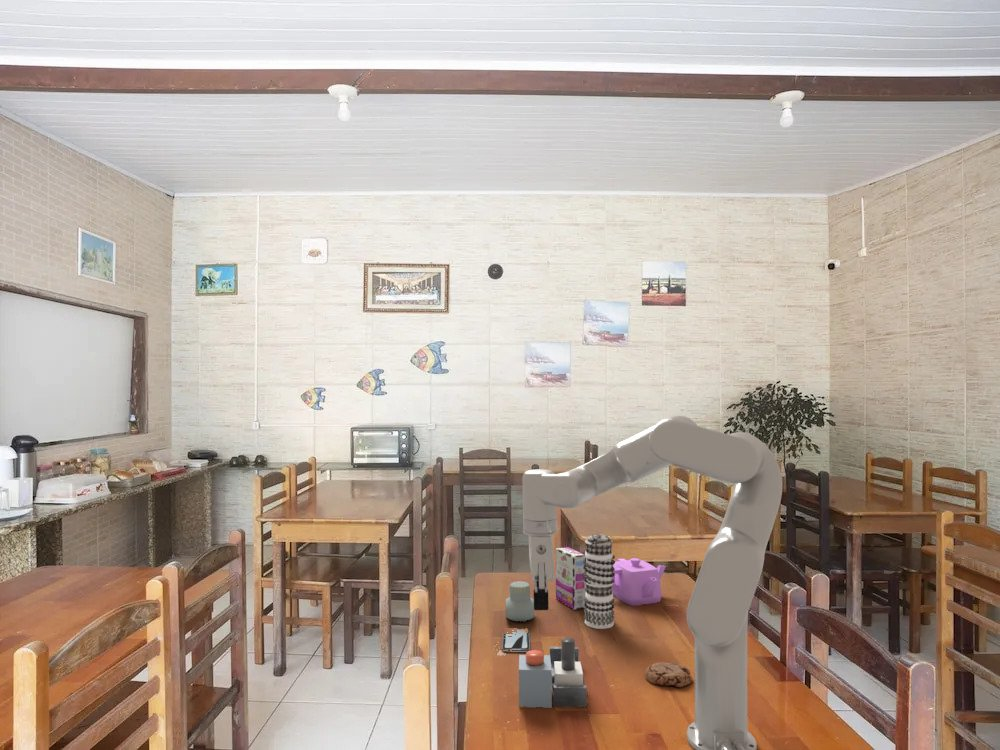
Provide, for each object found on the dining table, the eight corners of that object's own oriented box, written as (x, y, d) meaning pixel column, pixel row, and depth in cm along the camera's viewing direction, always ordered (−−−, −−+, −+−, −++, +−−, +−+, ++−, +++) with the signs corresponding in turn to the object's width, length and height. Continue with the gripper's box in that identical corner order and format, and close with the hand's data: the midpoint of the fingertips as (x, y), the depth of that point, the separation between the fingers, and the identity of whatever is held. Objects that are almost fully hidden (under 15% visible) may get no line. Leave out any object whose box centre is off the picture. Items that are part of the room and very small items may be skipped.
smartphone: (529, 627, 169) (530, 650, 154) (529, 630, 169) (530, 653, 154) (503, 627, 169) (501, 649, 154) (503, 630, 169) (501, 653, 154)
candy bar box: (587, 608, 184) (587, 554, 184) (573, 611, 182) (573, 556, 182) (568, 596, 194) (568, 545, 194) (555, 599, 192) (554, 547, 192)
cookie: (637, 673, 143) (637, 661, 143) (674, 666, 147) (674, 654, 147) (661, 694, 134) (661, 680, 134) (700, 685, 137) (700, 672, 137)
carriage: (585, 695, 130) (585, 646, 130) (552, 694, 131) (552, 646, 131) (583, 681, 136) (582, 635, 136) (551, 681, 137) (551, 634, 137)
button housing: (551, 707, 128) (551, 670, 128) (519, 707, 128) (518, 669, 128) (550, 690, 135) (550, 655, 135) (519, 690, 135) (519, 654, 135)
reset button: (544, 684, 129) (544, 658, 129) (525, 683, 129) (525, 658, 130) (543, 674, 133) (543, 650, 133) (525, 674, 133) (525, 649, 134)
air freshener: (534, 625, 171) (534, 590, 171) (505, 625, 171) (505, 590, 171) (533, 611, 182) (533, 578, 182) (506, 611, 182) (506, 578, 182)
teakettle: (617, 585, 205) (616, 549, 205) (667, 593, 197) (667, 555, 197) (602, 602, 189) (602, 562, 189) (656, 610, 182) (656, 570, 182)
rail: (586, 707, 128) (586, 688, 128) (553, 706, 128) (553, 687, 128) (578, 663, 148) (577, 646, 148) (549, 662, 148) (549, 646, 148)
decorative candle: (622, 626, 170) (621, 538, 170) (593, 631, 167) (593, 541, 167) (604, 614, 179) (604, 531, 179) (577, 619, 175) (577, 534, 175)
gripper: (559, 534, 125) (560, 622, 125) (554, 518, 140) (555, 596, 140) (523, 534, 125) (524, 622, 125) (522, 518, 140) (523, 597, 140)
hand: (541, 608), depth 132 cm, fingers closed
